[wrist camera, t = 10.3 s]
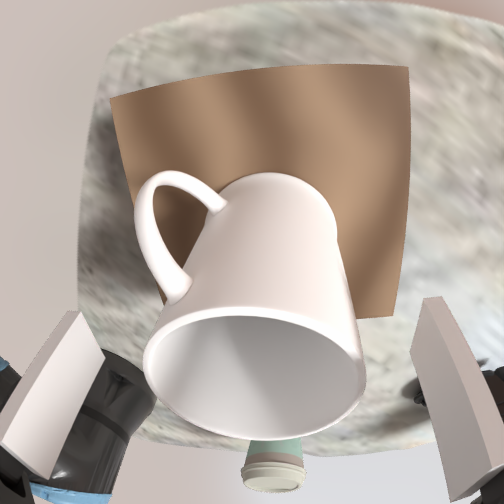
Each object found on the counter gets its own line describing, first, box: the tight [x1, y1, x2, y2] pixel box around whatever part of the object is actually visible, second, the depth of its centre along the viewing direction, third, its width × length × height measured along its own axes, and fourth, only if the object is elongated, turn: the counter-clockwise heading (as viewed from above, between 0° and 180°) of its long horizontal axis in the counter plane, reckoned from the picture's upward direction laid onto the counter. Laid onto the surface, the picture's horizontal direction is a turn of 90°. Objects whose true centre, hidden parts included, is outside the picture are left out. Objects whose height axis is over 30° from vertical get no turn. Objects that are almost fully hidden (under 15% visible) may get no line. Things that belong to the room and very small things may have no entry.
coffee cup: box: [241, 437, 306, 493], centre depth 38 cm, size 8×8×12 cm
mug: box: [134, 170, 366, 441], centre depth 15 cm, size 12×8×12 cm
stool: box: [110, 64, 411, 319], centre depth 23 cm, size 18×18×7 cm
